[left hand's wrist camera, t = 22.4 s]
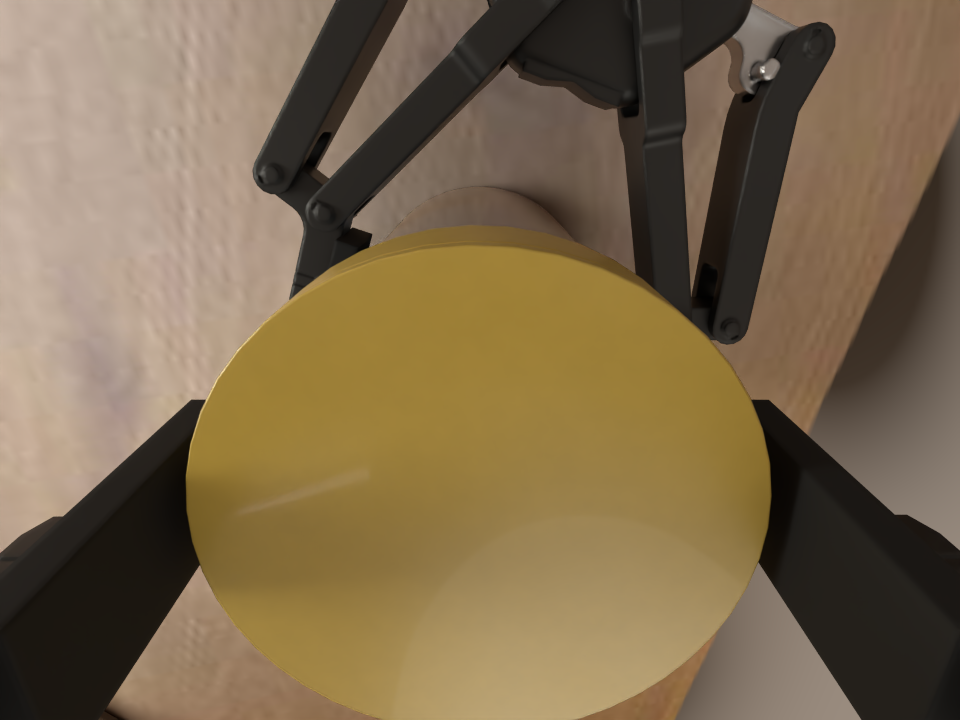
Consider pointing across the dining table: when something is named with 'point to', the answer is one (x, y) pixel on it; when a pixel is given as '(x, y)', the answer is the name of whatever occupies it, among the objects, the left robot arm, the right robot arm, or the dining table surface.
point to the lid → (478, 481)
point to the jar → (479, 212)
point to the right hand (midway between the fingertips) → (444, 436)
